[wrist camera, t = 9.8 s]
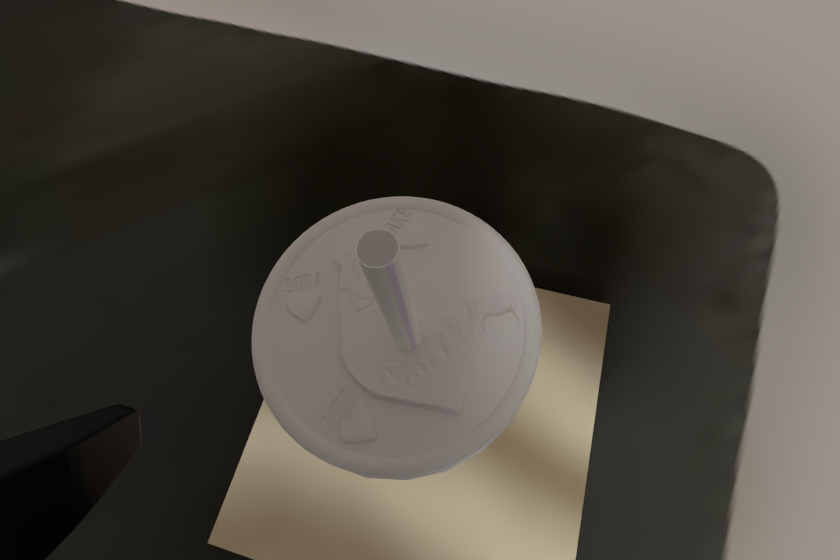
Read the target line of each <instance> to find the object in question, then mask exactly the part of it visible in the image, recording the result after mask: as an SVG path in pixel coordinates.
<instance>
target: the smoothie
mask: <svg viewBox="0 0 840 560" xmlns="http://www.w3.org/2000/svg"><path fill="white" fill-rule="evenodd" d="M541 337H542V326H541V314H540V308H539V302H538V298H537V295H536V291H535V288H534V285H533V283H532V280H531V278H530V276H529V274H528V272H527V270H526V268H525V266H524V264H523V262H522V261H521V259H520V258H519V256H518V255H517V253H516V252H515V251H514V249H513V248H512V247H511V246H510V244H509V243H508V242H507V241H506V240H505V239H504V238H503V237H502V236H501V235H500V234H499V233H498V232H497V231H495V230H494V229H493V228H492V227H491V226H489V225H488V224H487V223H485V222H484V221H482V220H481V219H480V218H478V217H476V216H474V215H473V214H471V213H469V212H467V211H465V210H463V209H461V208H458V207H456V206H453V205H450V204H447V203H444V202H440V201H437V200H432V199H427V198H420V197H409V196H401V197H384V198H378V199H372V200H368V201H364V202H360V203H357V204H354V205H351V206H348V207H345V208H343V209H341V210H339V211H336V212H334V213H333V214H331V215H329V216H327V217H325V218H323V219H322V220H320V221H319V222H317V223H316V224H314V225H313V226H312V227H310V228H309V229H308V230H307V231H305V232H304V233H303V234H302V235H301V236H300V237H298V238H297V239H296V240H295V241H294V242H293V243H292V244H291V245H290V247H289V248H288V249H287V250H286V251H285V252H284V253H283V255H282V256H281V257H280V259H279V260H278V261H277V263H276V264H275V266H274V268H273V269H272V271H271V273H270V274H269V276H268V278H267V280H266V282H265V284H264V286H263V289H262V291H261V294H260V297H259V300H258V303H257V307H256V310H255V315H254V320H253V328H252V357H253V365H254V370H255V374H256V379H257V382H258V385H259V388H260V391H261V393H262V395H263V397H264V400H265V402H266V404H267V406H268V408H269V409H270V411H271V413H272V414H273V416H274V417H275V419H276V420H277V421H278V423H279V424H280V425H281V427H282V428H283V429H284V430H285V431H286V432H287V433H288V435H289V436H290V437H291V438H292V439H293V440H294V441H296V442H297V443H298V444H299V445H300V446H301V447H303V448H304V449H305V450H307V451H308V452H310V453H311V454H313V455H314V456H316V457H317V458H319V459H321V460H323V461H325V462H327V463H328V464H330V465H333V466H335V467H338V468H340V469H343V470H346V471H349V472H353V473H355V474H358V475H361V476H363V477H366V478H379V479H395V480H410V479H415V478H419V477H423V476H428V475H432V474H437V473H441V472H446V471H448V470H450V469H452V468H453V467H455V466H457V465H459V464H461V463H462V462H464V461H466V460H468V459H470V458H472V457H473V456H475V455H477V454H479V453H481V452H482V451H483V450H484V449H485V448H486V447H487V446H488V445H489V444H490V443H491V442H492V441H493V440H494V439H495V438H496V437H497V436H498V435H499V434H500V433H501V432H502V431H503V430H504V429H505V428H506V427H507V426H508V425H509V424H510V423H511V421H512V420H513V418H514V416H515V414H516V413H517V411H518V409H519V407H520V405H521V404H522V402H523V400H524V398H525V397H526V395H527V393H528V391H529V389H530V386H531V383H532V381H533V378H534V375H535V373H536V369H537V365H538V361H539V356H540V349H541Z"/></svg>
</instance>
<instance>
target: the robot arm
mask: <svg viewBox="0 0 840 560" xmlns="http://www.w3.org/2000/svg"><path fill="white" fill-rule="evenodd" d="M141 442H142V438H141V426H140V416H139V413H138V411H137V410H135V409H132V408H130V407H127V406H124V405H113V406H110V407H106V408H103V409H100V410H97V411H94V412H91V413H87V414H84V415H81V416H78V417H75V418H72V419H69V420H65V421H62V422H59V423H56V424H53V425H50V426H47V427H43V428H40V429H37V430H34V431H31V432H28V433H24V434H21V435H18V436H15V437H12V438H9V439H6V440H2V441H0V560H45V559H46V558H47V557H48V556H49V555H50V554H51V553H52V552H53V551H54V549H55V548H56V547H57V546H58V545H59V544H60V543H61V542H62V541H63V540H64V539H65V538H66V537H67V536H68V535H69V534H70V533H71V532H72V531H73V530H74V528H75V527H76V526H77V525H78V524H79V523H80V522H81V521H82V520H83V518H84V517H85V516H86V515H87V514H88V513H89V511H90V510H91V509H92V508H93V507H94V505H95V504H96V503H97V502H98V500H99V499H100V498H101V497H102V495H103V494H104V493H105V492H106V491H107V489H108V488H109V487H110V486H111V484H112V483H113V482H114V481H115V480H116V478H117V477H118V476H119V475H120V473H121V472H122V471H123V470H124V469H125V467H126V466H127V465H128V464H129V462H130V461H131V460H132V459H133V457H134V456H135V455H136V454H137V452H138V450H139V448H140V446H141Z"/></svg>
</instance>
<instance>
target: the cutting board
mask: <svg viewBox="0 0 840 560" xmlns="http://www.w3.org/2000/svg"><path fill="white" fill-rule="evenodd" d="M534 288H535V287H534ZM535 291H536V295H537V298H538V302H539V308H540V314H541V326H542V337H541V349H540V356H539V361H538V365H537V369H536V373H535V375H534V378H533V381H532V383H531V386H530V389H529V391H528V393H527V395H526V397H525V398H524V400H523V402H522V404H521V405H520V407H519V409H518V411H517V413H516V414H515V416H514V418H513V420H512V421H511V423H510V424H509V425H508V426H507V427H506V428H505V429H504V430H503V431H502V432H501V433H500V434H499V435H498V436H497V437H496V438H495V439H494V440H493V441H492V442H491V443H490V444H489V445H488V446H487V447H486V448H485V449H484V450H483V451H482V452H481V453H479V454H477V455H475V456H473V457H472V458H470V459H468V460H466V461H464V462H462V463H461V464H459V465H457V466H455V467H453V468H452V469H450V470H448V471H446V472H441V473H437V474H432V475H428V476H423V477H419V478H415V479H410V480H395V479H379V478H366V477H363V476H361V475H358V474H355V473H353V472H349V471H346V470H343V469H340V468H338V467H335V466H333V465H330V464H328V463H327V462H325V461H323V460H321V459H319V458H317V457H316V456H314V455H313V454H311V453H310V452H308V451H307V450H305V449H304V448H303V447H301V446H300V445H299V444H298V443H297V442H296V441H294V440H293V439H292V438H291V437H290V436H289V435H288V433H287V432H286V431H285V430H284V429H283V428H282V427H281V425H280V424H279V423H278V421H277V420H276V419H275V417H274V416H273V414H272V413H271V411H270V409H269V408H268V406H267V404H266V402H265V400H264V401H263V403H262V406H261V408H260V411H259V413H258V416H257V418H256V421H255V423H254V426H253V429H252V431H251V434H250V436H249V439H248V441H247V444H246V446H245V449H244V452H243V454H242V457H241V459H240V462H239V464H238V467H237V469H236V472H235V474H234V477H233V480H232V482H231V485H230V487H229V490H228V492H227V495H226V497H225V500H224V503H223V505H222V508H221V510H220V513H219V515H218V518H217V520H216V523H215V525H214V528H213V531H212V533H211V536H210V538H209V541H208V543H209V544H212V545H215V546H217V547H220V548H223V549H226V550H229V551H231V552H234V553H237V554H240V555H243V556H245V557H248V558H251V559H254V560H575V559H576V552H577V545H578V537H579V530H580V523H581V516H582V508H583V501H584V494H585V486H586V479H587V472H588V464H589V457H590V450H591V442H592V435H593V428H594V420H595V413H596V406H597V398H598V391H599V384H600V376H601V369H602V362H603V354H604V347H605V340H606V332H607V325H608V318H609V310H610V305H609V304H605V303H600V302H596V301H592V300H587V299H583V298H578V297H574V296H570V295H565V294H561V293H556V292H552V291H548V290H543V289H539V288H535Z"/></svg>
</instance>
